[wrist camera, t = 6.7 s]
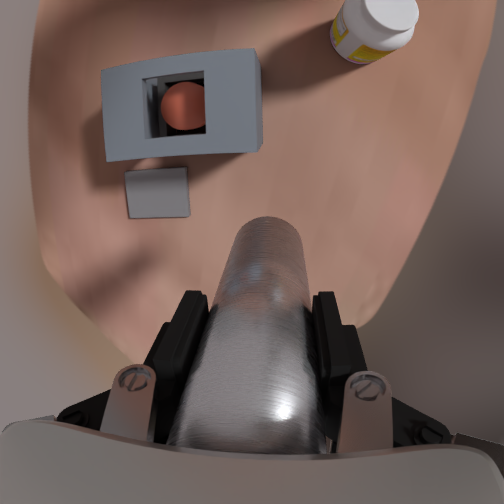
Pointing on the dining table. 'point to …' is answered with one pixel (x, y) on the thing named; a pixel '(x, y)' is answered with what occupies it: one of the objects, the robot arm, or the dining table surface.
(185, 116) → the button
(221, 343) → the silver metal cylinder
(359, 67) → the dining table surface
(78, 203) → the dining table surface
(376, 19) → the supplement bottle
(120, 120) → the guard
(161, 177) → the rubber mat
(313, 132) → the dining table surface
